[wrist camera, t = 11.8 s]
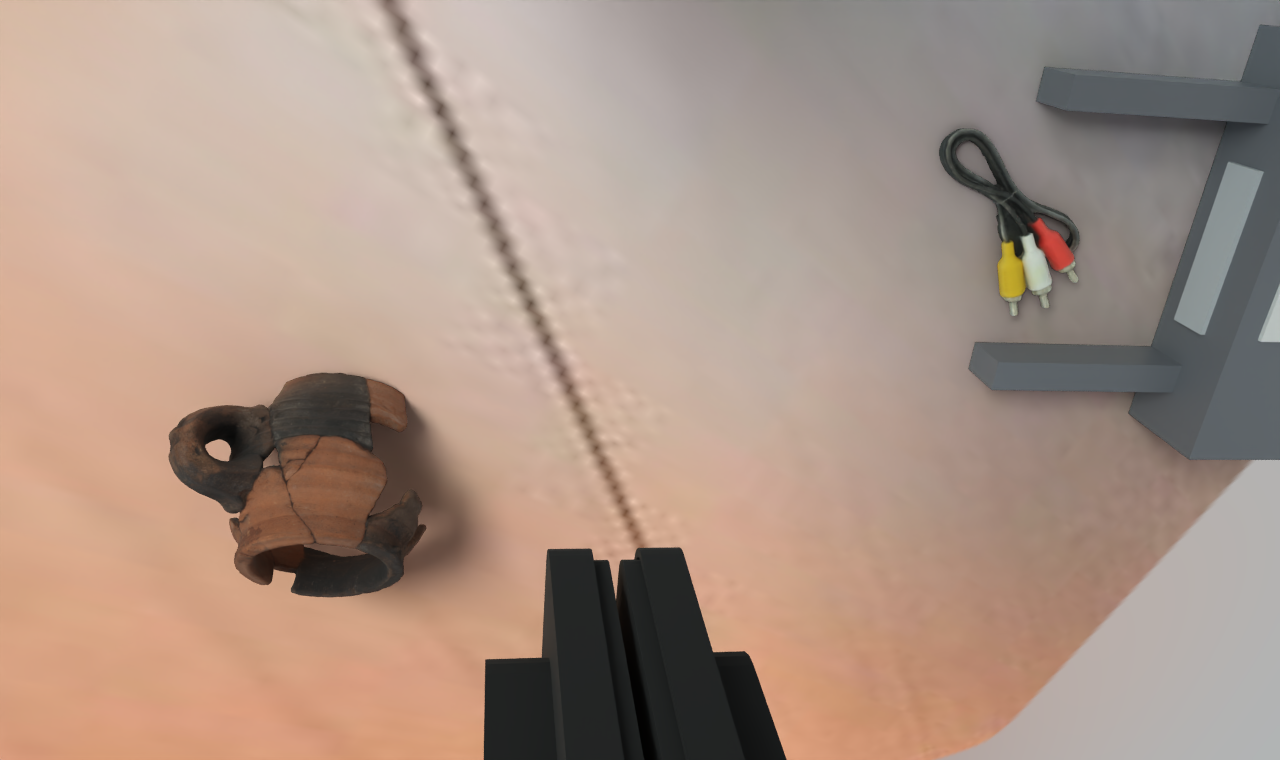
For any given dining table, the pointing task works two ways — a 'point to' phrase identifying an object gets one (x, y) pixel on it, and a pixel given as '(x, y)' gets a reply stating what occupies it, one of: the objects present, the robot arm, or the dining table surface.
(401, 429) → the pottery mug
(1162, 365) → the dock
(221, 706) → the dining table surface
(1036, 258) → the composite cable
